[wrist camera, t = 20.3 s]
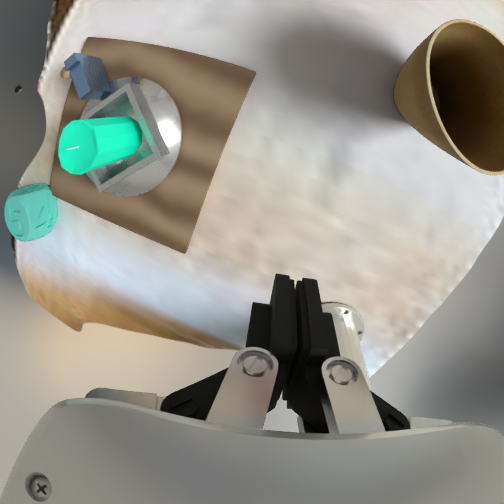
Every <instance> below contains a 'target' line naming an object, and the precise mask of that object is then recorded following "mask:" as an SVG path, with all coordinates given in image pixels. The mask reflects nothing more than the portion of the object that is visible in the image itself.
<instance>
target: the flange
mask: <svg viewBox="0 0 504 504" xmlns="http://www.w3.org/2000/svg"><path fill="white" fill-rule="evenodd" d="M64 63H65V67H66V70H69V71H70V74H71V77H72V79H73V82H74V85H75V88H76V91H77V94H78V96H79V99H90V100H89V102H88V103H87V105H86V106H85V108H84V110H83V112H82V115H81V117H80V119H79V120H83V119H93V118H105V117H123V116H130V117H132V118H133V119H135V120H136V121H138V122H139V125H140V127H141V129H142V132H143V134H142V144H141V146H140V147H139V149H138V151H137V153H135V154H134V155H132V156H130V157H129V158H127V159H124V160H121V161H118V162H115V163H112V164H109V165H106V166H103V167H100V168H97V169H95V170H92V171H89V172H87V173H86V174H87V175H88V177H89V178H90V179H91V180H92V182H93V183H94V184H96V187H97V189H98V191H99V193H100V192H102V191H105V192H107V193H109V194H112V195H116V196H121V197H131V196H137V195H141V194H143V193H146V192H148V191H150V190H151V189H153V188H155V187H156V186H158V185H159V184H160V183H161V182H163V180H164V179H165V178H166V177H167V176H168V175H169V174H170V172H171V171H172V170H173V168H174V166H175V164H176V162H177V160H178V157H179V155H180V151H181V148H182V142H183V123H182V118H181V114H180V111H179V108H178V106H177V104H176V102H175V100H174V99H173V97H172V96H171V95H170V93H169V92H168V91H167V90H166V89H165V88H164V87H162V86H161V85H159V84H158V83H156V82H154V81H152V80H149V79H145V78H141V77H124V78H120V79H116V80H114V81H112V82H110V81H109V78H108V76H107V73H106V71H105V68H104V65H103V63H102V60H101V58H98V57H94V56H89V55H84V54H79V53H74V54H72V55H71V56H70V57H69V58H68V59H67V60H66V61H65V62H64Z"/></svg>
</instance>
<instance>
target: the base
mask: <svg viewBox="0 0 504 504" xmlns="http://www.w3.org/2000/svg"><path fill="white" fill-rule="evenodd" d="M81 54H84V55H89V56H94V57H98V58H101V60H102V63H103V65H104V68H105V71H106V73H107V76H108V78H109V81H110V82H112V81H114V80H116V79H120V78H124V77H141V78H145V79H149V80H152V81H154V82H156V83H158V84H159V85H161V86H162V87H164V88H165V89H166V90H167V91H168V92H169V93H170V95H171V96H172V97H173V99H174V100H175V102H176V104H177V106H178V108H179V111H180V114H181V118H182V123H183V142H182V148H181V151H180V155H179V157H178V160H177V162H176V164H175V166H174V168H173V170H172V171H171V172H170V174H169V175H168V176H167V177H166V178H165V179H164V180H163V182H161V183H160V184H159V185H158V186H156V187H155V188H153V189H151V190H150V191H148V192H146V193H143V194H141V195H137V196H131V197H121V196H116V195H112V194H109V193H107V192H105V191H102V192H100V193H99V191H98V189H97V187H96V184H94V183H93V182H92V180H91V179H90V178H89V177H88V175H87V174H86V173H84V174H81V175H80V174H70V173H69V172H68V171H66V170H65V169H64V168H62V167H61V163H60V160H59V156H58V149H59V140H60V137H61V134H62V131H63V128H65V127H66V126H67V125H68V124H69V123H70V122H71V121H74V120H79V119H80V117H81V115H82V112H83V110H84V108H85V106H86V105H87V103H88V102H89V100H90V99H79V96H78V94H77V91H76V88H75V85H74V82H73V79H72V82H71V86H70V89H69V92H68V96H67V100H66V103H65V107H64V111H63V115H62V120H61V124H60V129H59V134H58V139H57V144H56V150H55V156H54V162H53V170H52V177H51V186H50V190H51V191H52V195H53V196H55V197H57V198H60V199H62V200H64V201H66V202H68V203H70V204H72V205H75V206H77V207H79V208H81V209H83V210H86V211H88V212H90V213H92V214H94V215H97V216H99V217H101V218H103V219H105V220H108V221H110V222H112V223H114V224H117V225H119V226H121V227H123V228H126V229H128V230H130V231H133V232H135V233H137V234H139V235H142V236H144V237H146V238H149V239H151V240H153V241H156V242H158V243H160V244H163V245H165V246H167V247H170V248H172V249H174V250H177V251H179V252H181V253H184V254H185V253H186V251H187V249H188V246H189V243H190V240H191V237H192V234H193V231H194V228H195V225H196V222H197V219H198V216H199V213H200V211H201V208H202V205H203V202H204V199H205V197H206V194H207V191H208V188H209V186H210V183H211V180H212V178H213V175H214V172H215V170H216V167H217V165H218V162H219V159H220V157H221V154H222V152H223V149H224V147H225V144H226V142H227V139H228V137H229V134H230V132H231V130H232V127H233V125H234V122H235V120H236V118H237V115H238V113H239V110H240V108H241V106H242V104H243V101H244V99H245V97H246V94H247V92H248V90H249V88H250V85H251V83H252V81H253V79H254V77H255V74H256V72H255V71H252V70H249V69H246V68H243V67H240V66H237V65H234V64H231V63H228V62H224V61H221V60H218V59H214V58H210V57H207V56H203V55H199V54H195V53H191V52H187V51H183V50H178V49H174V48H169V47H164V46H158V45H153V44H147V43H141V42H134V41H126V40H118V39H108V38H96V37H88V38H87V40H86V43H85V45H84V48H83V50H82V53H81ZM61 77H62V78H72V77H71V74H70V71H69V70H66V67H64V68H63V69H62V71H61Z"/></svg>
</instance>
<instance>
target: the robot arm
mask: <svg viewBox="0 0 504 504" xmlns="http://www.w3.org/2000/svg"><path fill="white" fill-rule="evenodd" d="M363 334H364V323H363V320H362V318H361V316H360V314H359V313H358V312H357V311H356V310H355V309H353V308H352V307H350V306H348V305H344V304H340V303H326V304H321V299H320V294H319V289H318V284H317V280H315V279H308V278H303V279H302V281H297V284H296V288H295V287H294V280H291V279H290V277H289V276H288V275H282V274H276V275H275V280H274V285H273V290H272V295H271V300H270V304H262V303H256V302H253V304H252V310H251V316H250V322H249V329H248V335H247V341H246V348H244V349H241V350H239V351H238V352H236V354H235V355H234V357H233V359H232V361H231V363H230V366H229V368H226V369H225V370H222V371H220V372H218V373H216V374H214V375H212V376H210V377H207V378H205V379H203V380H201V381H199V382H197V383H194V384H192V385H190V386H187V387H185V388H183V389H180V390H178V391H176V392H173V393H171V394H170V395H168V396H166V397H158V396H157V394H155V393H143V392H133V391H123V390H116V389H108V388H96V389H94V390H91V391H90V392H89V393H88V394H87V395H86V397H85V398H75V399H67V400H64V401H61V402H58V403H57V404H55V405H54V406H52V407H51V408H50V409H49V410H48V411H47V412H46V413H45V414H44V415H43V417H42V418H41V419H40V421H39V422H38V423H37V425H36V426H35V428H34V429H33V431H32V432H31V434H30V435H29V437H28V439H27V441H26V443H25V445H24V446H23V448H22V450H21V452H20V453H19V455H18V457H17V459H16V462H15V464H14V466H13V468H12V471H11V473H10V475H9V478H8V480H7V483H6V485H5V487H4V490H3V492H2V495H1V498H0V504H504V438H503V436H502V434H501V433H500V432H499V431H498V430H497V429H495V428H493V427H491V426H488V425H484V424H480V423H453V422H452V421H449V420H441V419H431V418H422V417H413V416H410V417H409V418H408V419H407V418H406V416H404V415H403V414H402V413H401V412H400V411H398V410H397V409H395V408H394V407H393V406H391V405H390V404H388V403H387V402H386V401H384V400H383V399H381V398H380V397H379V396H377V395H376V394H374V393H373V392H372V389H371V384H370V380H369V376H368V372H367V368H366V365H365V361H364V357H363V353H362V350H361V346H360V341H361V339H362V337H363ZM282 390H283V391H282ZM281 392H283V393H282V399H283V400H287V408H288V409H292V410H294V412H296V413H297V414H298V417H297V422H298V427H299V433H296V432H282V431H271V430H262V428H263V425H264V421H265V418H266V414H267V413H268V412H269V411H271V410H272V409H274V408H275V406H276V403H277V400H278V399H279V398H280V395H281Z"/></svg>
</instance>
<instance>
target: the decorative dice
mask: <svg viewBox="0 0 504 504" xmlns="http://www.w3.org/2000/svg"><path fill="white" fill-rule="evenodd" d="M4 214H5V220H6V224H7V227H8V229H9V230H10V232H11V234H12V235H13V236H14V237H15V238H16V239H18V240H20V241H31V240H35V239H39V238H41V237H43V236H45V235H47V234H48V233H50V232H51V231H52V229H53V227H54V225H55V223H56V220H57V216H58V206H57V199H56V197H55V196H53V195H52V191H51V190H50V187H49V186H48V185H47V184H33V185H28V186H25V187H22V188H19V189H16V190H15V191H13V192H11V193H10V194H9V196H8V198H7V201H6V204H5V210H4Z"/></svg>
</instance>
